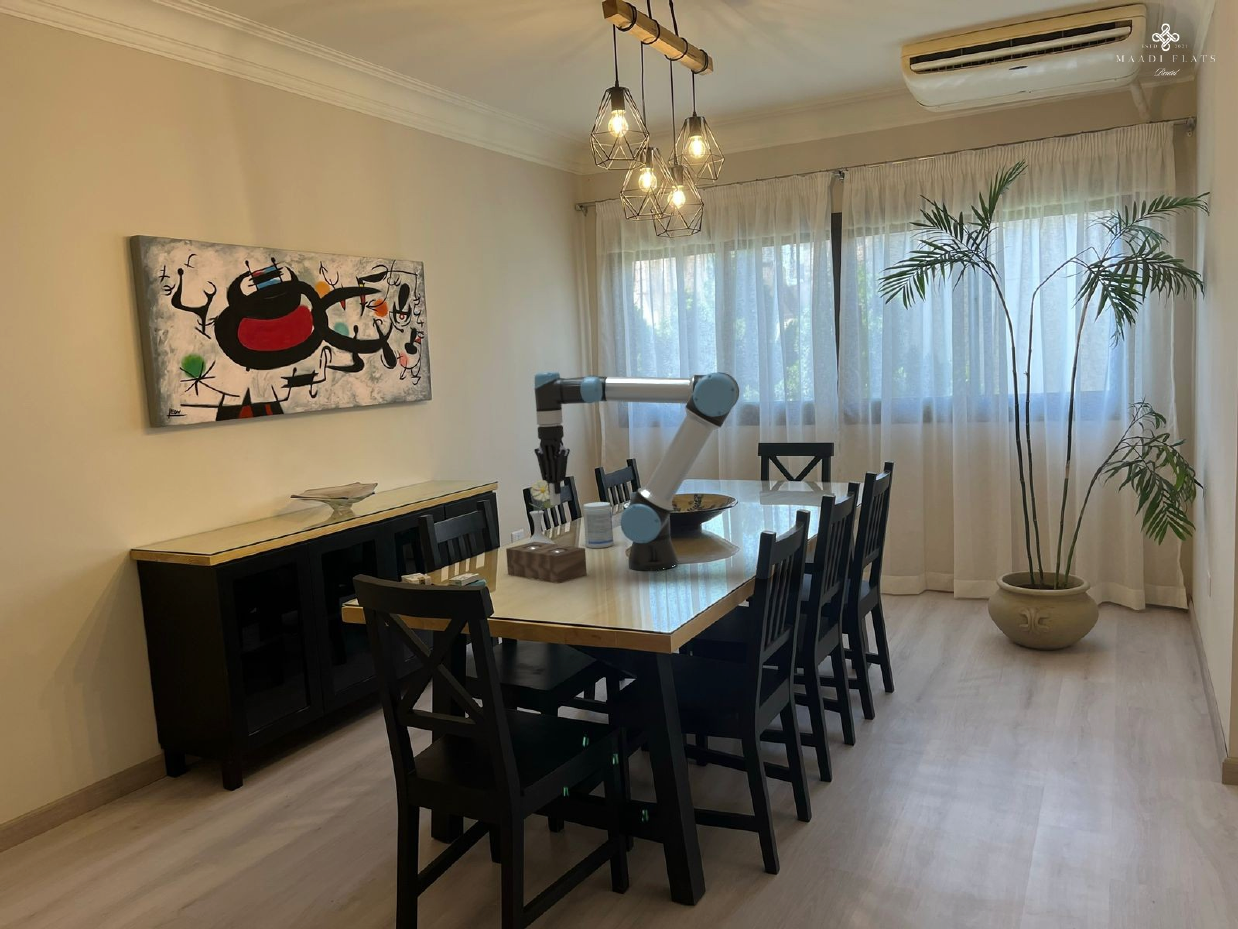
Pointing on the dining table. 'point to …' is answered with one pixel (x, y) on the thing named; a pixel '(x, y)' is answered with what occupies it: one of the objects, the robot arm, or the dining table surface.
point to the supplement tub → (598, 525)
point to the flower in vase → (542, 494)
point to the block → (546, 562)
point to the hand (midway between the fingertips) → (555, 504)
